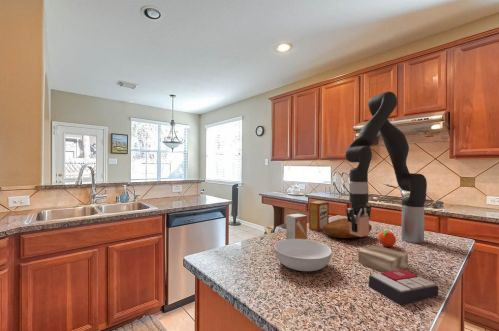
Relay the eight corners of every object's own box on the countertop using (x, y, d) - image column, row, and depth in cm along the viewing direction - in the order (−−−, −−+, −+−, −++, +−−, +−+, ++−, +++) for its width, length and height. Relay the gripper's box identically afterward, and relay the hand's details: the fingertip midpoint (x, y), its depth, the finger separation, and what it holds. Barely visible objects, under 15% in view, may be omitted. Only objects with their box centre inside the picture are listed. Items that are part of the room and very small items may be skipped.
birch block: (375, 257, 98) (375, 244, 98) (407, 267, 88) (407, 254, 88) (358, 263, 92) (358, 250, 92) (391, 275, 82) (391, 261, 82)
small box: (295, 245, 111) (295, 217, 111) (285, 241, 116) (285, 214, 116) (307, 242, 115) (307, 215, 115) (297, 238, 121) (297, 213, 121)
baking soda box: (318, 231, 134) (318, 203, 134) (309, 229, 139) (309, 201, 139) (328, 228, 140) (328, 201, 140) (319, 226, 145) (319, 200, 145)
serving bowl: (298, 284, 75) (298, 262, 75) (263, 260, 93) (263, 243, 93) (344, 271, 84) (344, 251, 84) (305, 251, 103) (305, 235, 103)
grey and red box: (439, 283, 69) (401, 290, 64) (438, 298, 69) (401, 306, 64) (403, 268, 79) (368, 272, 74) (402, 281, 79) (367, 286, 74)
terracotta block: (357, 231, 108) (357, 214, 108) (369, 234, 103) (368, 216, 103) (349, 233, 105) (349, 215, 105) (360, 236, 101) (360, 217, 101)
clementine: (391, 250, 104) (391, 234, 104) (375, 246, 110) (375, 231, 110) (398, 246, 110) (398, 231, 110) (381, 242, 115) (381, 228, 115)
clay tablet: (346, 229, 138) (346, 216, 138) (375, 237, 123) (375, 222, 123) (319, 235, 126) (319, 220, 126) (347, 245, 112) (347, 227, 112)
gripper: (361, 190, 111) (361, 226, 111) (340, 192, 104) (340, 231, 104) (377, 191, 105) (377, 230, 105) (355, 194, 97) (356, 235, 98)
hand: (359, 230), depth 104 cm, fingers closed on terracotta block, 5 cm apart
